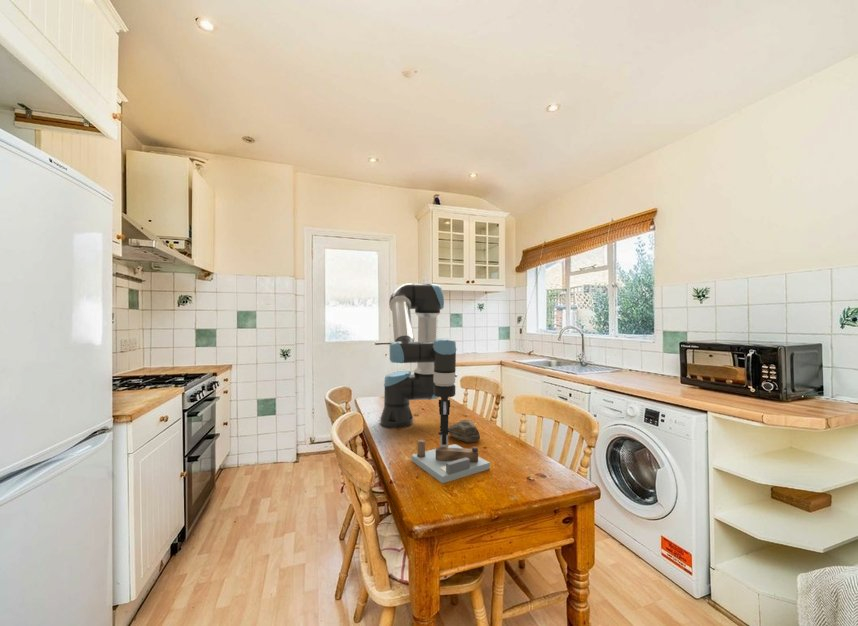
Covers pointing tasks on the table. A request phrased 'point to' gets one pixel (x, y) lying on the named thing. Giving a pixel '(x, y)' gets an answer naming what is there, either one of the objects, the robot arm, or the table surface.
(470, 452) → the leg
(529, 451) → the table surface
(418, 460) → the board
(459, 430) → the stone
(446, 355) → the robot arm
